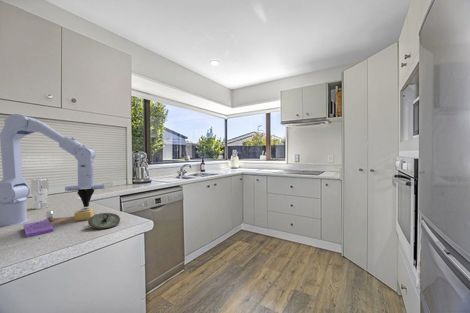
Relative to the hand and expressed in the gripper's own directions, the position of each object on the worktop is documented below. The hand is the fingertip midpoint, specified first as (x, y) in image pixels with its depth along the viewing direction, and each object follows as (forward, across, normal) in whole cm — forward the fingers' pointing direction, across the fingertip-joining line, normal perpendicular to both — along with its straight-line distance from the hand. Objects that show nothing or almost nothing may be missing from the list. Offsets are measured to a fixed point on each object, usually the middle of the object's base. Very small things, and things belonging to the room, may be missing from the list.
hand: (86, 206), depth 92 cm
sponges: (+5, -11, -14) cm, 18 cm away
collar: (+4, 0, -2) cm, 5 cm away
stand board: (+5, -6, -2) cm, 8 cm away
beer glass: (+5, -29, +32) cm, 44 cm away
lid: (+5, +10, -16) cm, 19 cm away
